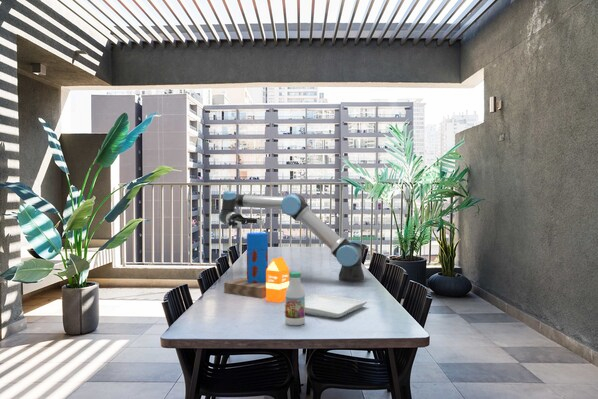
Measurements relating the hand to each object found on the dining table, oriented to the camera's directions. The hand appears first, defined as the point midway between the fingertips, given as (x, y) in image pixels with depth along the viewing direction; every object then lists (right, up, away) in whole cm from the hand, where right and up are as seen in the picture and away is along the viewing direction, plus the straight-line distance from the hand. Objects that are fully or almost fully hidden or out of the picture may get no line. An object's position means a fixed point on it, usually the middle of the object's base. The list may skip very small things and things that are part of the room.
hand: (252, 223), depth 255 cm
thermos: (+4, -30, -9) cm, 31 cm away
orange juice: (+15, -35, -29) cm, 48 cm away
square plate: (+37, -36, -48) cm, 70 cm away
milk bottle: (+24, -36, -69) cm, 81 cm away
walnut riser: (+4, -34, -9) cm, 36 cm away
